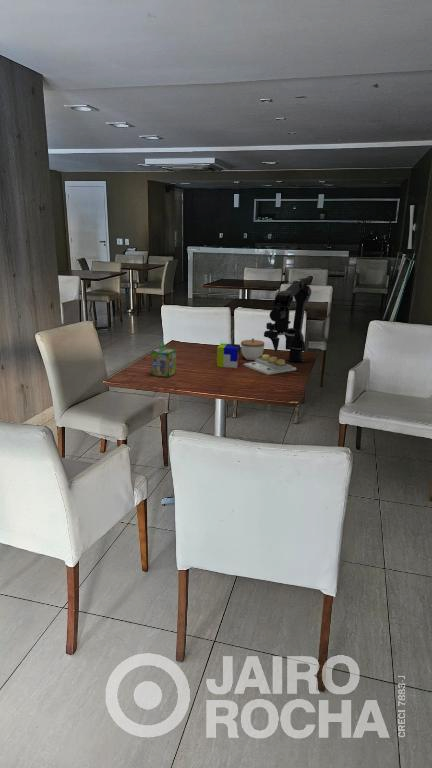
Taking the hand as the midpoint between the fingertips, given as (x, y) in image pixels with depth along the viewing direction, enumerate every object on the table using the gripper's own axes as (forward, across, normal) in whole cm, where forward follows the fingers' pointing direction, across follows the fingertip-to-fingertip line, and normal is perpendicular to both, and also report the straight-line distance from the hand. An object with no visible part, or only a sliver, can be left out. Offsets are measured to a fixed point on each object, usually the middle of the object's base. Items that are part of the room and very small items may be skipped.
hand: (281, 350), depth 244 cm
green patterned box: (+10, +54, -21) cm, 59 cm away
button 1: (+8, 0, -12) cm, 14 cm away
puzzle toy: (+10, +17, -21) cm, 29 cm away
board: (+10, +2, -6) cm, 12 cm away
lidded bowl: (+10, -2, -26) cm, 28 cm away
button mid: (+8, 0, -6) cm, 10 cm away
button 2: (+8, 0, 0) cm, 8 cm away
